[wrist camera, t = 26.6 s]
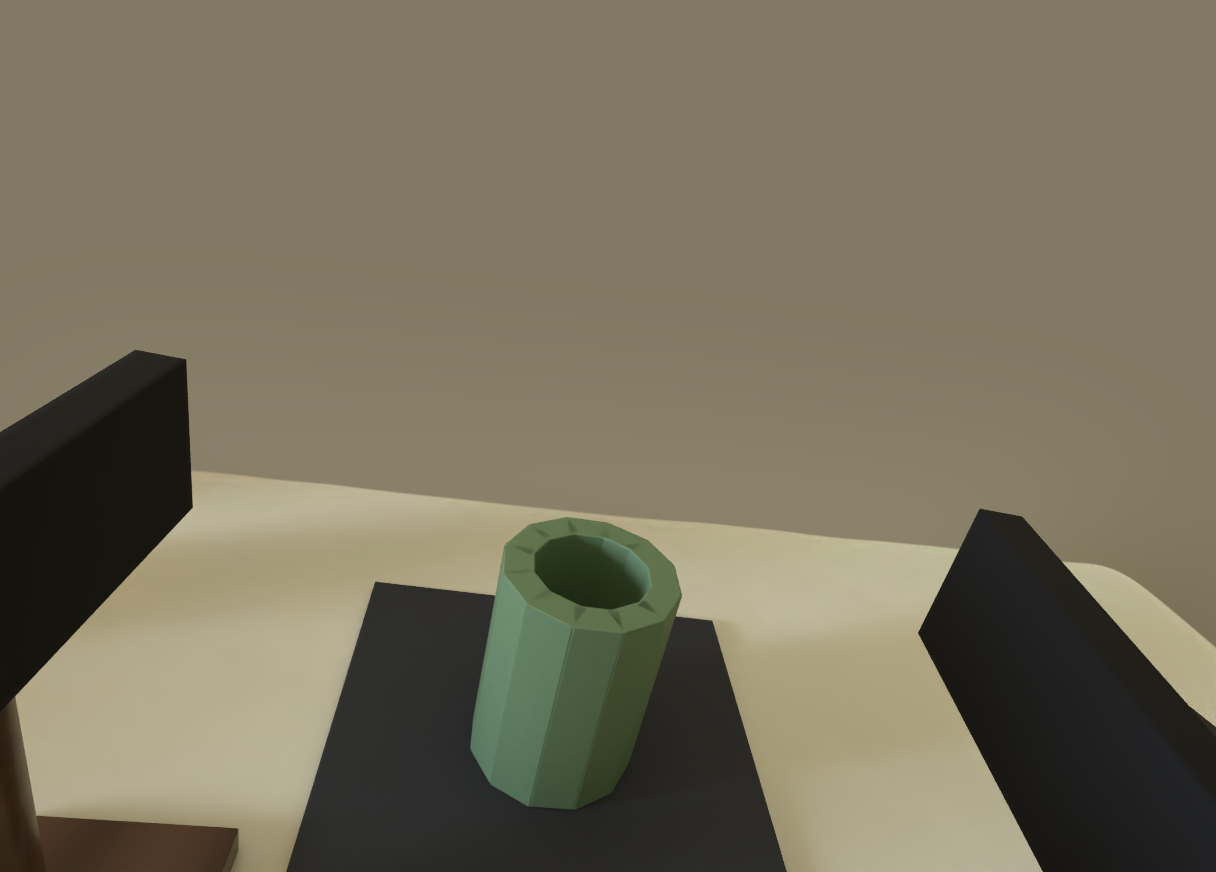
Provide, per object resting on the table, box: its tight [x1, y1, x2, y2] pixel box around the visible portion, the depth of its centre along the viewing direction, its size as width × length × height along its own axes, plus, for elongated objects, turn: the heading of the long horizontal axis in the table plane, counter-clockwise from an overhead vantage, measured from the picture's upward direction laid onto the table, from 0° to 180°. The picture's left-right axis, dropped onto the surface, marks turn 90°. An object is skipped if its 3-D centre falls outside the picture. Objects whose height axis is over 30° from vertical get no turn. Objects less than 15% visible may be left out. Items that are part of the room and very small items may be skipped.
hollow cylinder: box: [470, 517, 682, 810], centre depth 34 cm, size 7×7×10 cm
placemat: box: [287, 582, 787, 872], centre depth 36 cm, size 20×20×1 cm
